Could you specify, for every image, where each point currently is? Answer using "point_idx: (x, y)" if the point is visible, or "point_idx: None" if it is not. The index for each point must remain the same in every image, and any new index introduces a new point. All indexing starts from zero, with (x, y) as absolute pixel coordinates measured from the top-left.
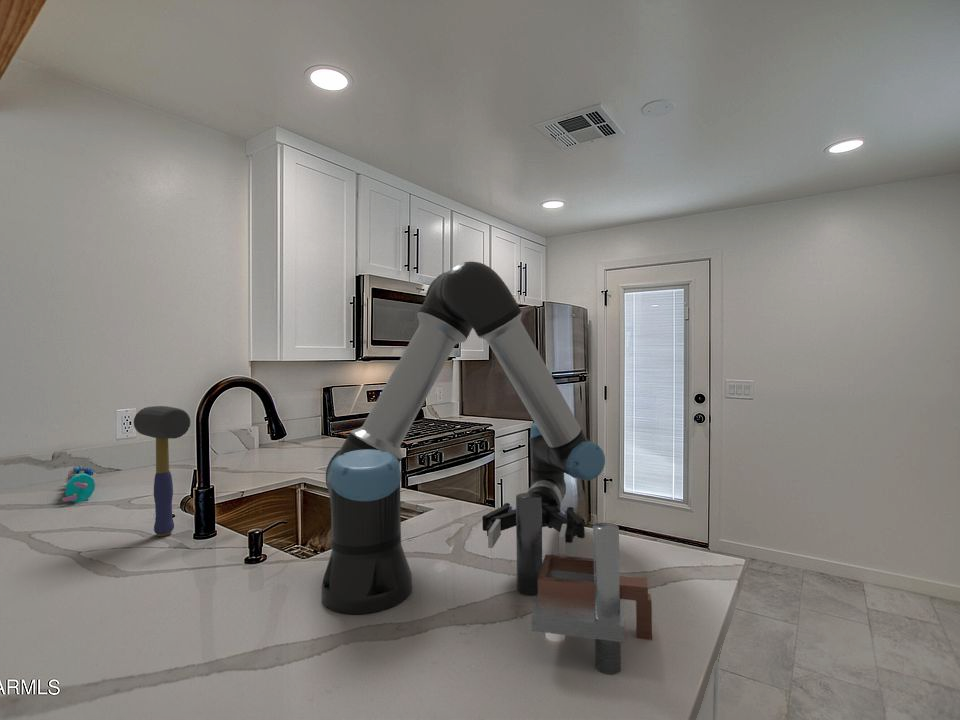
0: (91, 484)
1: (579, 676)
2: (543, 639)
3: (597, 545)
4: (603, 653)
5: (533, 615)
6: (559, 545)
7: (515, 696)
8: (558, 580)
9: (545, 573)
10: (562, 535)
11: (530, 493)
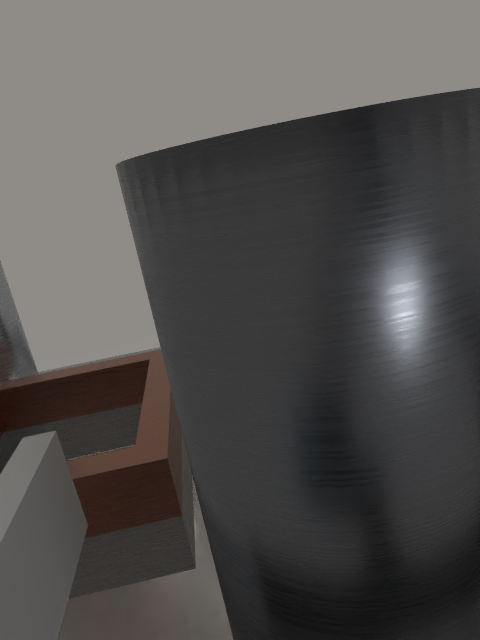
0: None
1: (110, 450)
2: (195, 502)
3: None
4: None
5: None
6: (69, 481)
7: None
8: (109, 362)
9: (151, 367)
10: (21, 457)
11: (359, 110)
